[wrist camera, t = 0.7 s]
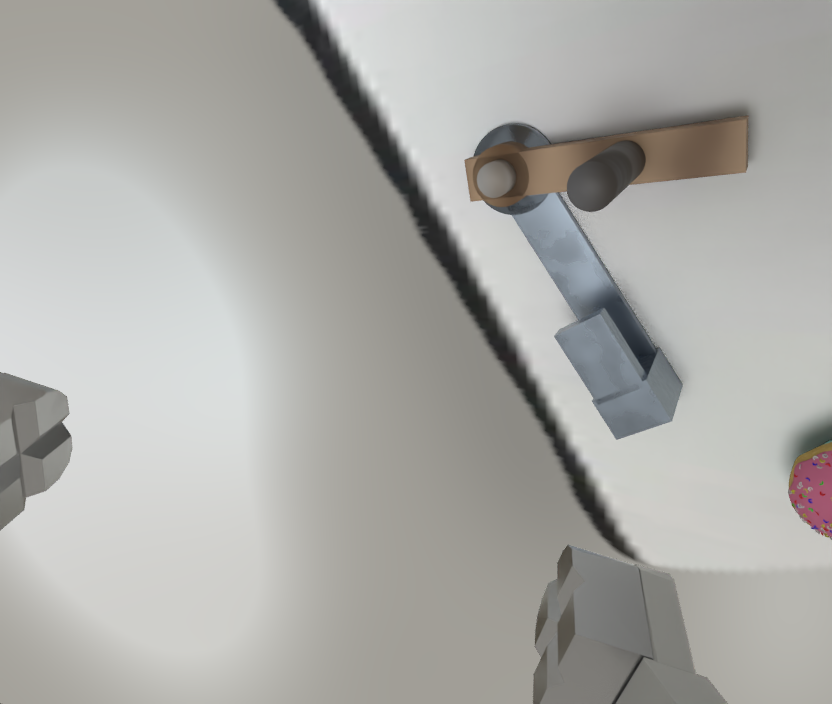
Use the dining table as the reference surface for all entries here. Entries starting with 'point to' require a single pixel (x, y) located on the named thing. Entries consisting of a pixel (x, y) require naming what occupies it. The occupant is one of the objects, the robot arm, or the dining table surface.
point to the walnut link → (608, 163)
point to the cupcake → (813, 488)
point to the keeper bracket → (593, 311)
